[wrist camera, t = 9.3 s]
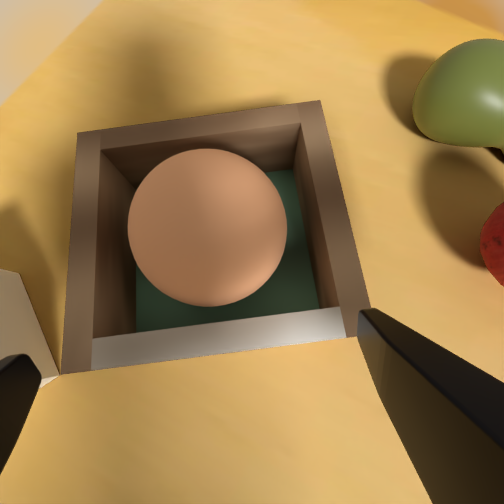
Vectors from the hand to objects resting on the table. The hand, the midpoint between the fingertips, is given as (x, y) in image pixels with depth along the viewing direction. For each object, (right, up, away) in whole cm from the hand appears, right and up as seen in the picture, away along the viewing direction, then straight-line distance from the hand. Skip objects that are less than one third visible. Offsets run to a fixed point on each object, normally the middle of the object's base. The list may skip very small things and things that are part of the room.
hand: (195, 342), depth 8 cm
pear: (+17, +10, +12) cm, 23 cm away
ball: (0, +3, +9) cm, 9 cm away
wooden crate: (0, +3, +10) cm, 10 cm away
